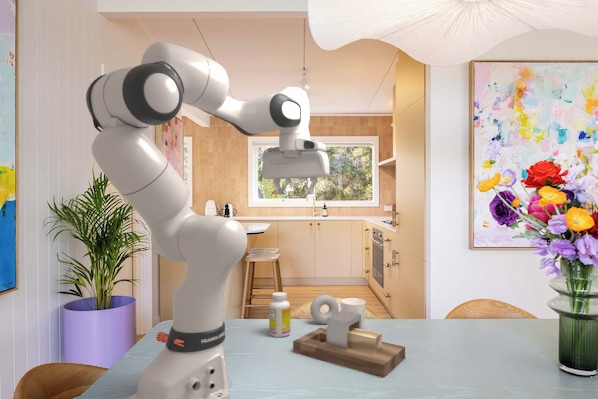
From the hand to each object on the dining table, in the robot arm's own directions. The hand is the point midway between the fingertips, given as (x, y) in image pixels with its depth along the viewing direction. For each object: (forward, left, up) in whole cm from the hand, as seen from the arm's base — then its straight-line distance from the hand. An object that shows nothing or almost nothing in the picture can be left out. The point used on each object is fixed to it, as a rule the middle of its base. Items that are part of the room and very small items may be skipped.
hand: (294, 194), depth 110 cm
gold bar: (+4, -16, -41) cm, 44 cm away
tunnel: (+4, -14, -41) cm, 43 cm away
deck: (+4, -14, -44) cm, 47 cm away
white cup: (+21, -7, -44) cm, 50 cm away
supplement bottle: (+6, +11, -44) cm, 46 cm away
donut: (+23, +5, -44) cm, 50 cm away
